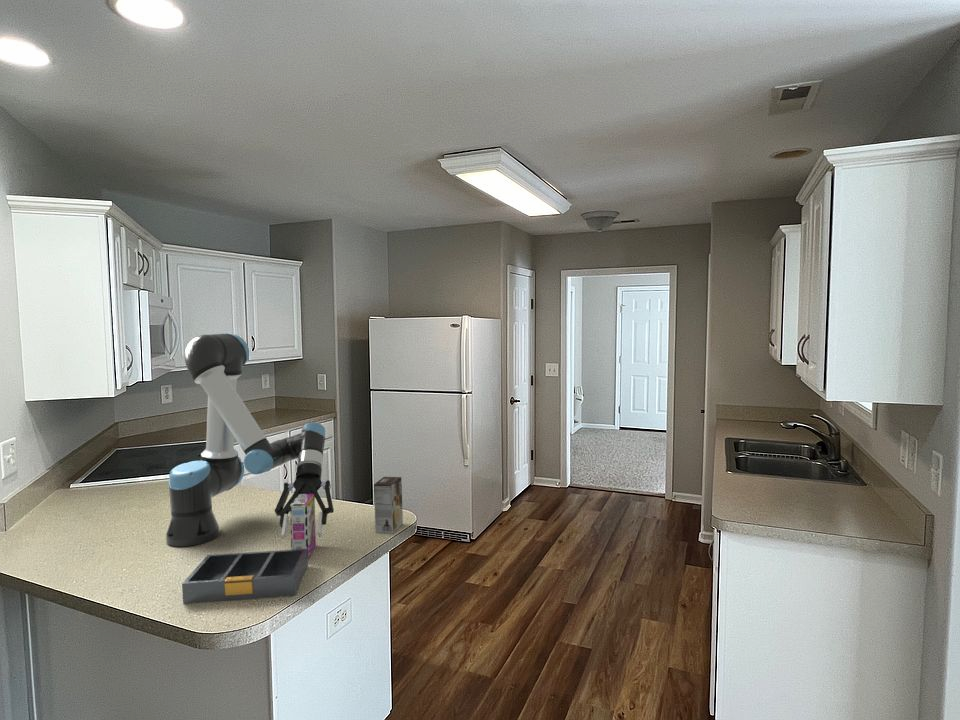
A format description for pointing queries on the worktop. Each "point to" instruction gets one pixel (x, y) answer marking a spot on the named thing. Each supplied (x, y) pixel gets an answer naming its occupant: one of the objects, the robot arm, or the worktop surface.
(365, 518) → the worktop surface
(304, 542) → the candy bar box
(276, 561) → the bay rack
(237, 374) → the robot arm
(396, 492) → the coffee box
